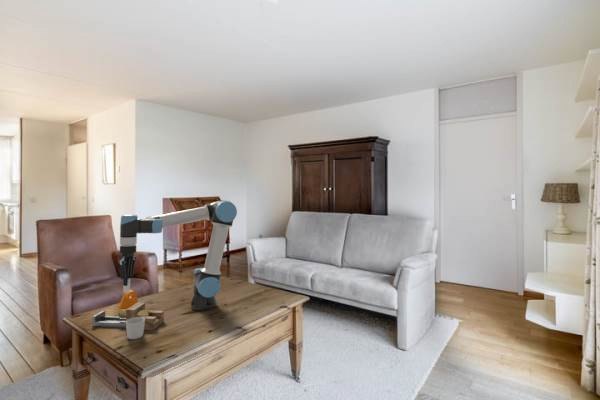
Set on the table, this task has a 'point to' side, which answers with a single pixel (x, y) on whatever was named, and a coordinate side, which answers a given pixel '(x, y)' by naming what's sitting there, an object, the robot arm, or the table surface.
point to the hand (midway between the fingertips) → (126, 291)
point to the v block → (108, 321)
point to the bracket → (128, 300)
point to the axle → (139, 313)
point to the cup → (135, 327)
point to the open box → (151, 320)
